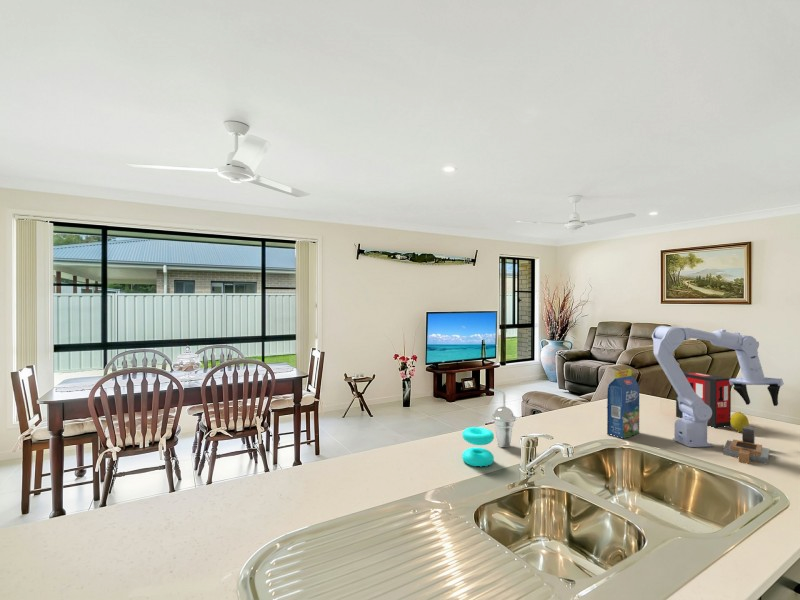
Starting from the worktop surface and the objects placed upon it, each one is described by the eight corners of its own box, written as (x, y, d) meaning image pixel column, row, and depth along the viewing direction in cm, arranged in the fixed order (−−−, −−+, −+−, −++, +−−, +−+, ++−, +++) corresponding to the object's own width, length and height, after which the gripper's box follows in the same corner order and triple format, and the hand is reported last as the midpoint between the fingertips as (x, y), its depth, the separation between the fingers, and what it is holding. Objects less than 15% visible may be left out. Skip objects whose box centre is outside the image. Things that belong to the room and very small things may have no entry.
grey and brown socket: (767, 468, 122) (767, 458, 122) (721, 458, 130) (721, 449, 130) (769, 454, 133) (769, 445, 133) (727, 445, 141) (727, 437, 141)
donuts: (460, 434, 123) (464, 424, 132) (460, 466, 123) (464, 454, 132) (493, 437, 120) (494, 427, 129) (493, 470, 120) (494, 457, 130)
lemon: (732, 433, 154) (732, 412, 154) (728, 428, 159) (728, 409, 159) (750, 435, 152) (750, 414, 152) (746, 431, 157) (746, 411, 156)
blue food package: (639, 433, 153) (640, 370, 153) (623, 439, 146) (623, 373, 146) (623, 429, 158) (623, 367, 158) (606, 434, 152) (607, 370, 152)
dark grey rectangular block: (753, 450, 137) (753, 430, 137) (742, 447, 139) (742, 428, 139) (754, 447, 140) (754, 427, 140) (743, 444, 142) (743, 425, 142)
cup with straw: (506, 452, 134) (506, 393, 134) (485, 444, 141) (485, 389, 141) (520, 446, 139) (521, 390, 139) (499, 439, 146) (500, 385, 146)
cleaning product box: (730, 426, 163) (730, 378, 162) (715, 428, 160) (715, 379, 160) (690, 415, 178) (690, 371, 178) (676, 416, 176) (676, 372, 176)
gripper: (780, 363, 137) (792, 401, 136) (730, 364, 149) (740, 399, 148) (775, 369, 133) (786, 408, 132) (723, 370, 145) (733, 406, 145)
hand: (761, 404), depth 140 cm, fingers open, 7 cm apart
